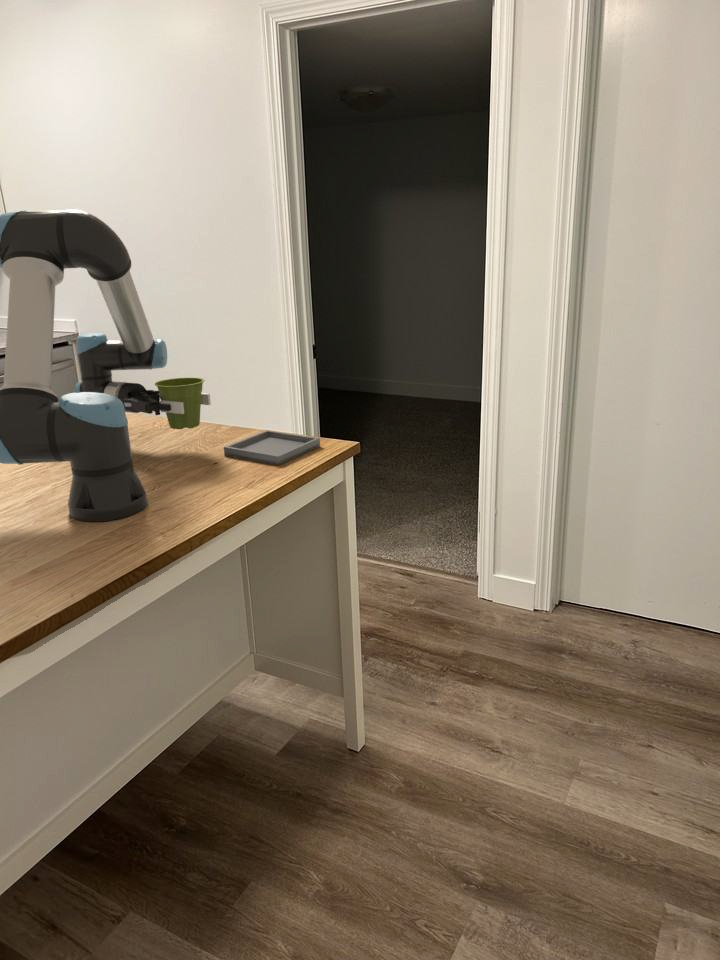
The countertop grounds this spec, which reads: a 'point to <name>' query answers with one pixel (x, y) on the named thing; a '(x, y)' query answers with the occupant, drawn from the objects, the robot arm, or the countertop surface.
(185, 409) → the plant pot
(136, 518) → the countertop surface
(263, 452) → the tray
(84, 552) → the countertop surface
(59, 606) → the countertop surface
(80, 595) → the countertop surface
